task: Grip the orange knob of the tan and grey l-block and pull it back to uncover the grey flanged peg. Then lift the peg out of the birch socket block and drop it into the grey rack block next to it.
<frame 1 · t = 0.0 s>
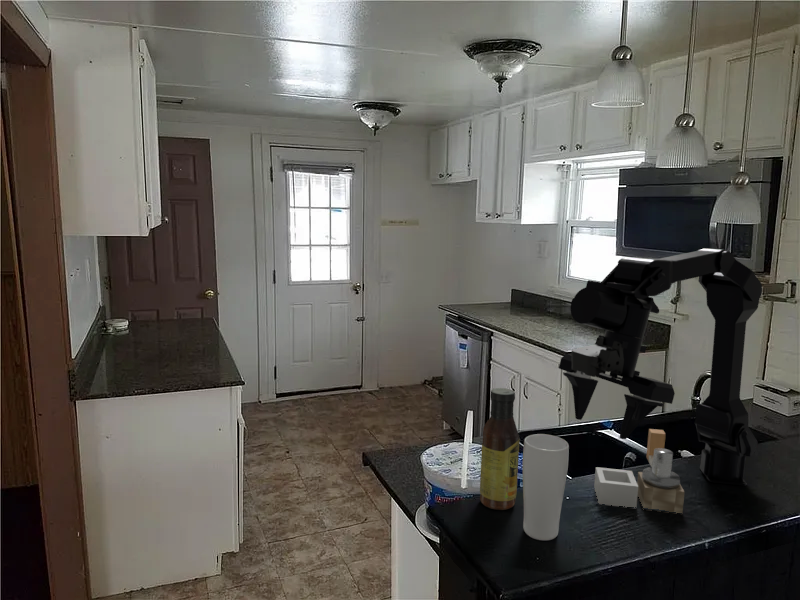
hand: (599, 428, 93), 15 cm above the counter, tool pointing down, fingers open, 9 cm apart
drinking glass: (540, 534, 91), on the counter
sauce bottle: (497, 503, 100), on the counter
grey flanged peg: (658, 503, 101), resting in birch socket block
tan and grey l-block: (657, 448, 104), point 8 cm above the counter, slide at 0.0 cm
birch socket block: (658, 502, 101), on the counter
grey rack block: (614, 497, 103), on the counter
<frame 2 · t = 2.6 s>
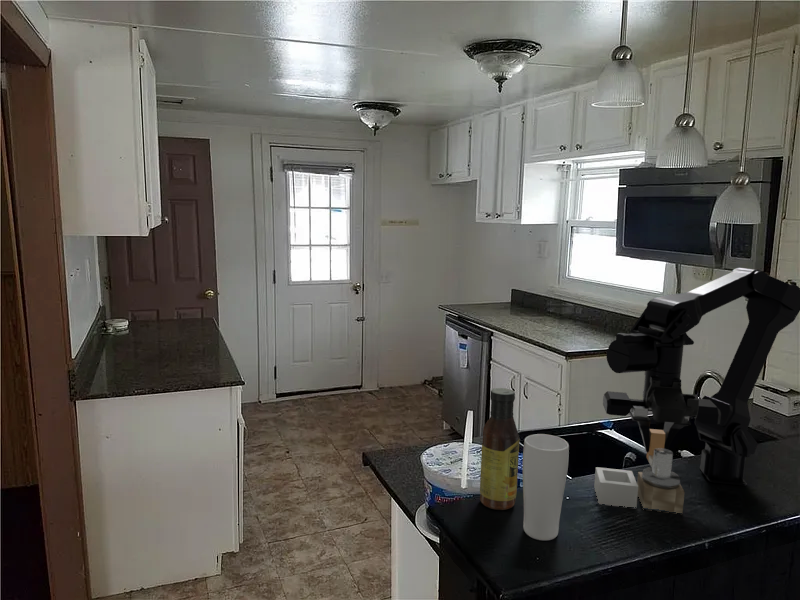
hand: (655, 452, 105), 7 cm above the counter, tool pointing down, fingers closed on tan and grey l-block, 2 cm apart
tan and grey l-block: (657, 448, 104), point 8 cm above the counter, slide at 0.0 cm, touching gripper
everything else where it was.
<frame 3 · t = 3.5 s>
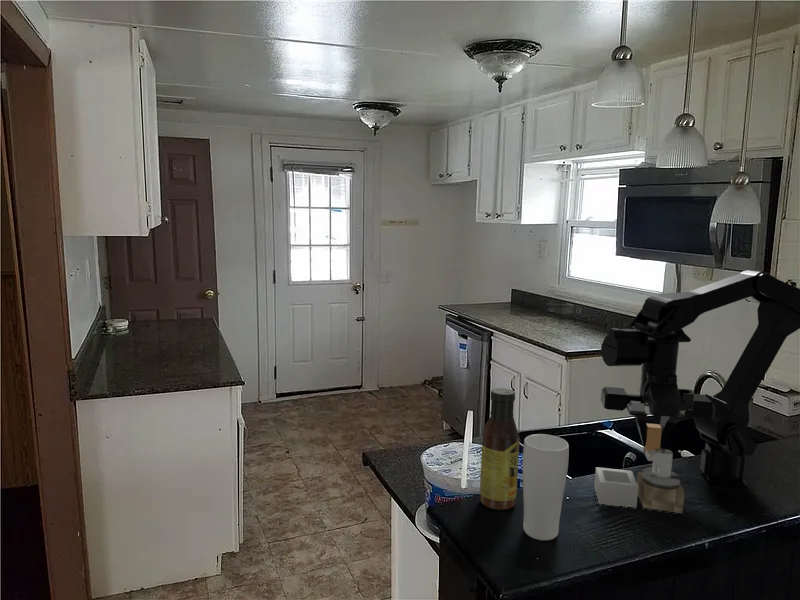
hand: (651, 446, 108), 7 cm above the counter, tool pointing down, fingers closed on tan and grey l-block, 2 cm apart
tan and grey l-block: (653, 442, 107), point 8 cm above the counter, slide at 2.9 cm, touching gripper
everything else where it was.
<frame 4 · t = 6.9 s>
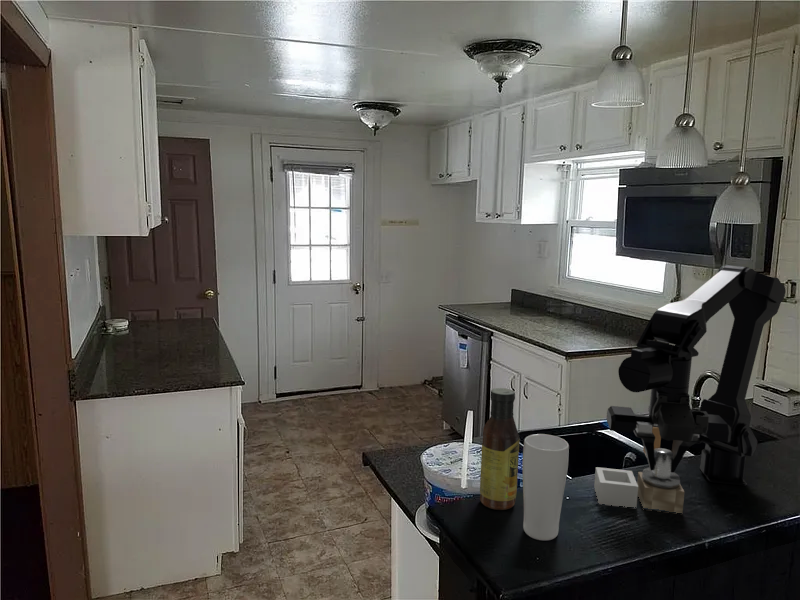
hand: (661, 470, 100), 6 cm above the counter, tool pointing down, fingers closed on grey flanged peg, 3 cm apart
grey flanged peg: (658, 503, 101), resting in birch socket block, touching gripper
tan and grey l-block: (653, 442, 107), point 8 cm above the counter, slide at 2.9 cm
everything else where it was.
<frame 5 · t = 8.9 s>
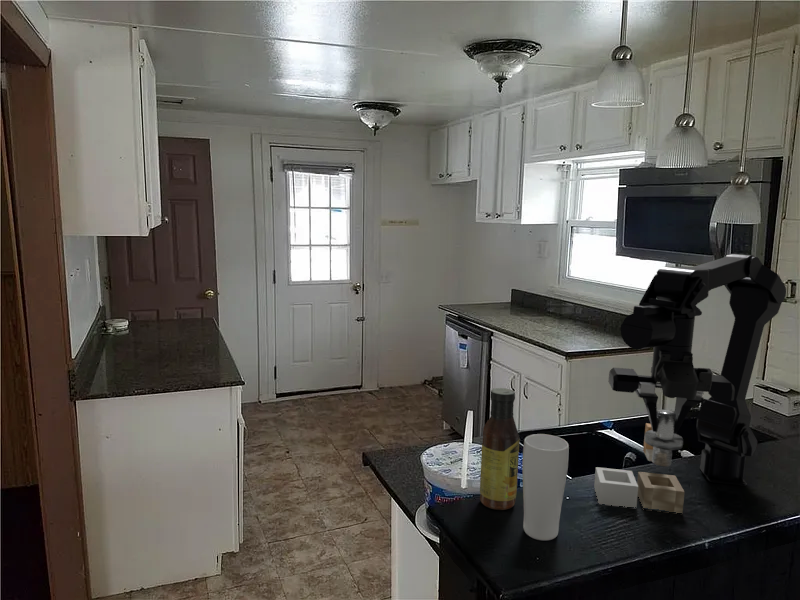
hand: (664, 431, 99), 13 cm above the counter, tool pointing down, fingers closed on grey flanged peg, 3 cm apart
grey flanged peg: (661, 465, 100), point 7 cm above the counter, touching gripper
everything else where it was.
when the fingers open (8 cm above the counter, at t = 10.8 s): grey flanged peg drops 2 cm, resting on grey rack block.
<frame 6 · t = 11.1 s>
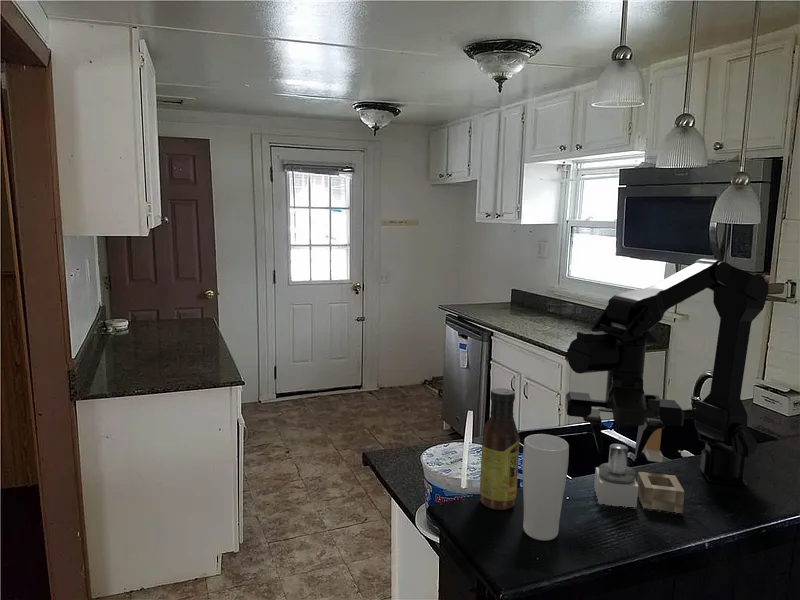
hand: (618, 455, 101), 8 cm above the counter, tool pointing down, fingers open, 6 cm apart
grey flanged peg: (614, 498, 103), resting on grey rack block
everything else where it was.
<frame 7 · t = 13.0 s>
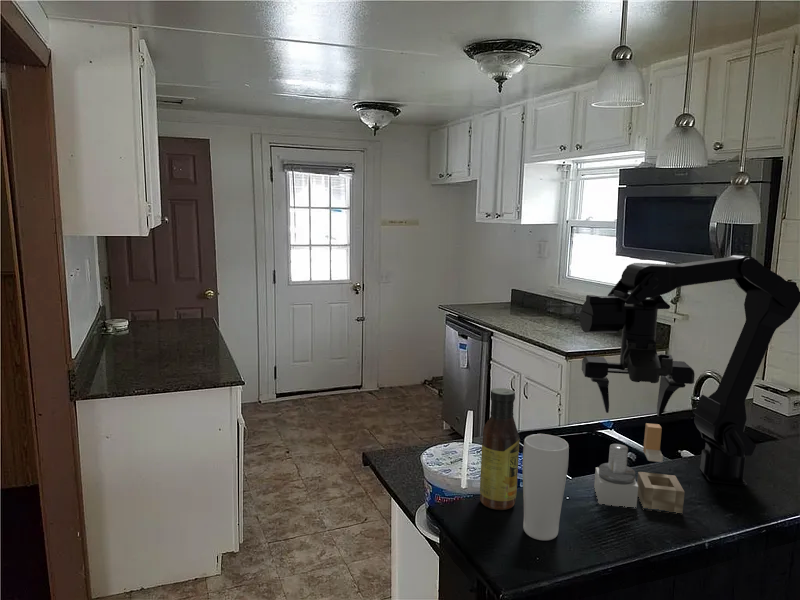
hand: (632, 414, 108), 13 cm above the counter, tool pointing down, fingers open, 9 cm apart
nothing on the counter moved.
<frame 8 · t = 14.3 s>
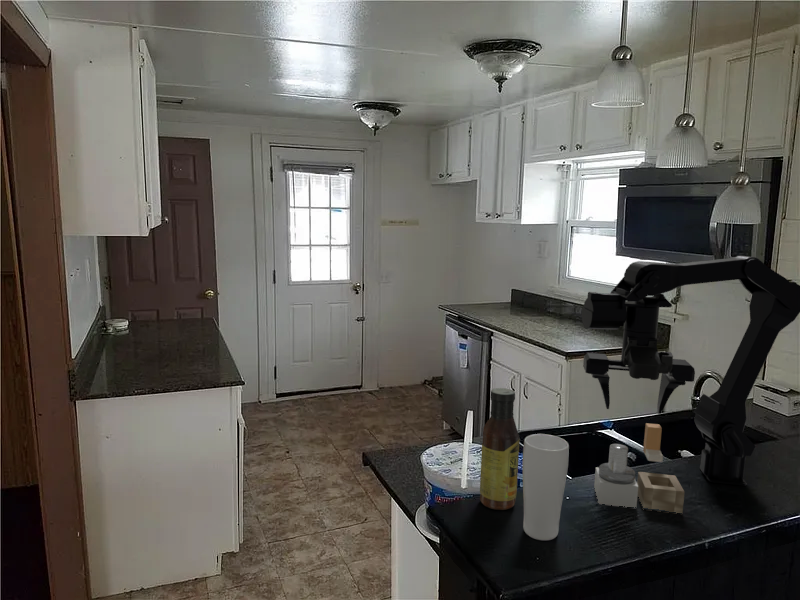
hand: (633, 410, 110), 13 cm above the counter, tool pointing down, fingers open, 9 cm apart
nothing on the counter moved.
at the end: tan and grey l-block slide at 2.9 cm; grey flanged peg 0.0 cm off-centre on the grey rack block, point 0.0 cm above the grey rack block's base; grey flanged peg tilted 0° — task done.
